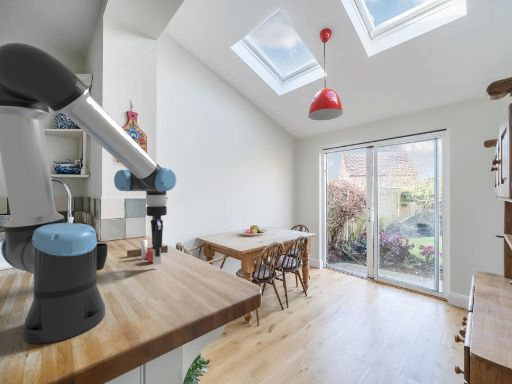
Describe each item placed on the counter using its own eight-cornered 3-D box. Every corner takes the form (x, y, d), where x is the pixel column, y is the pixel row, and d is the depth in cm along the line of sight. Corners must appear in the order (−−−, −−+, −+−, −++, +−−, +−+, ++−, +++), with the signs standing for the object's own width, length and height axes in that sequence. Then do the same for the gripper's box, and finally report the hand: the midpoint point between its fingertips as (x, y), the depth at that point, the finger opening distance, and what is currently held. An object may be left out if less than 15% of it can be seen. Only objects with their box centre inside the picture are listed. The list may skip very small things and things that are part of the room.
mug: (107, 262, 104) (106, 240, 103) (107, 269, 94) (107, 246, 94) (84, 265, 99) (83, 242, 99) (82, 273, 89) (81, 248, 89)
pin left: (147, 259, 108) (147, 240, 108) (141, 259, 107) (141, 241, 106) (146, 257, 110) (146, 239, 110) (141, 258, 109) (141, 240, 108)
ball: (158, 252, 108) (161, 263, 105) (144, 255, 105) (146, 266, 102) (159, 244, 105) (162, 255, 101) (145, 247, 101) (147, 259, 98)
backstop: (167, 252, 120) (167, 246, 120) (127, 257, 110) (127, 251, 110) (166, 251, 121) (166, 245, 121) (127, 256, 112) (127, 250, 112)
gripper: (170, 206, 91) (170, 266, 91) (163, 204, 102) (163, 258, 102) (148, 207, 87) (149, 270, 87) (144, 205, 98) (144, 261, 98)
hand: (156, 263), depth 95 cm, fingers closed
